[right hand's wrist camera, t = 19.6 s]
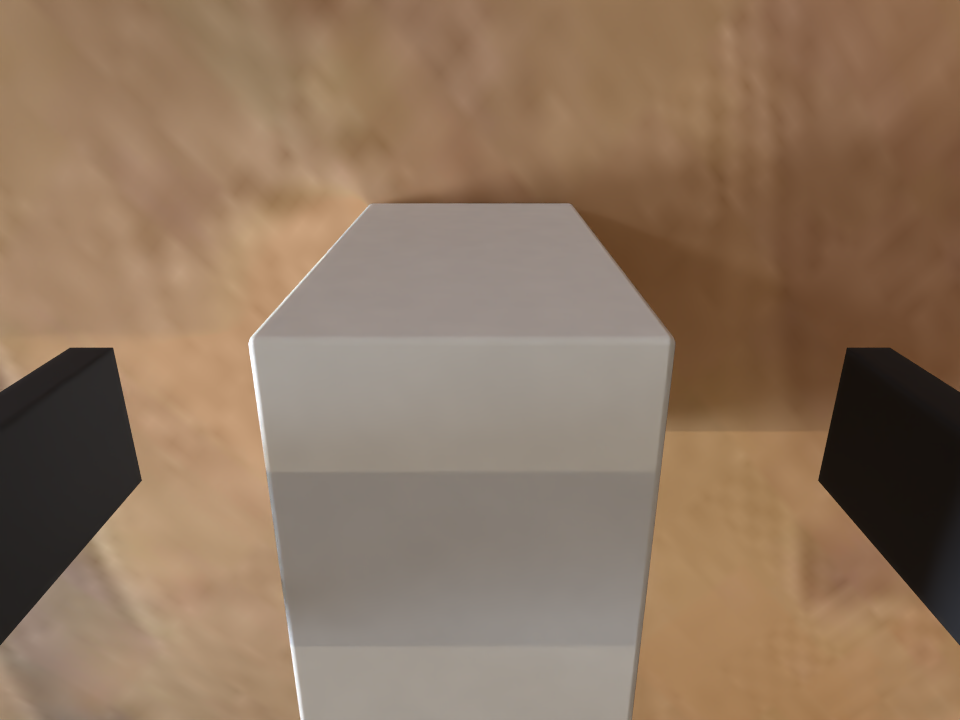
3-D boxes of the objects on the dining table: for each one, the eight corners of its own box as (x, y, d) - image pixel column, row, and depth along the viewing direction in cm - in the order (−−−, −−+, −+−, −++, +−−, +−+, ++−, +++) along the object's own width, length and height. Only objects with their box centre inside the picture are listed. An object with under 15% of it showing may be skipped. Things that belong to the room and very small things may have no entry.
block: (382, 432, 18) (299, 733, 10) (368, 202, 16) (244, 338, 7) (561, 432, 18) (632, 733, 10) (572, 202, 16) (678, 337, 7)
